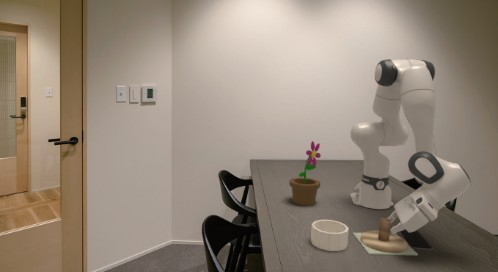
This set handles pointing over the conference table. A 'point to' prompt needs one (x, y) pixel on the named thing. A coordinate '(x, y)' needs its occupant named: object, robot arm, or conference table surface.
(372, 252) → the mat
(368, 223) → the conference table surface
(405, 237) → the smartphone
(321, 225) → the bowl
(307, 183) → the flowerpot
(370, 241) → the lid
